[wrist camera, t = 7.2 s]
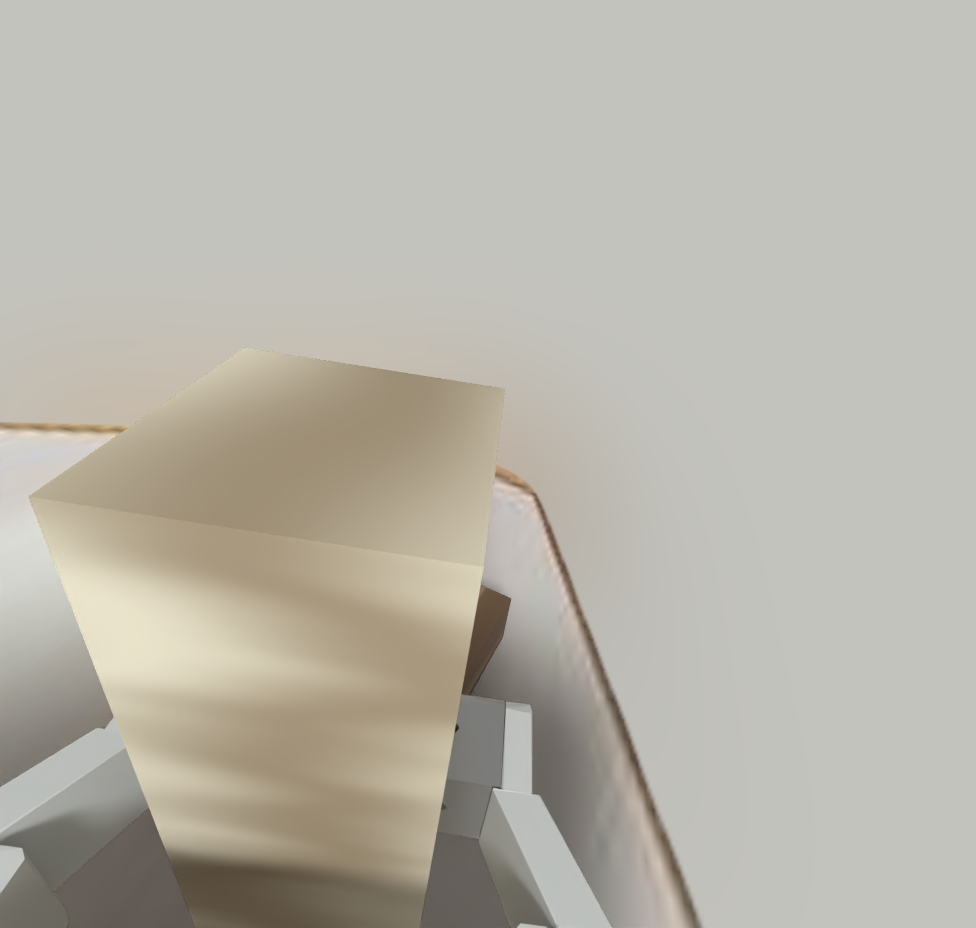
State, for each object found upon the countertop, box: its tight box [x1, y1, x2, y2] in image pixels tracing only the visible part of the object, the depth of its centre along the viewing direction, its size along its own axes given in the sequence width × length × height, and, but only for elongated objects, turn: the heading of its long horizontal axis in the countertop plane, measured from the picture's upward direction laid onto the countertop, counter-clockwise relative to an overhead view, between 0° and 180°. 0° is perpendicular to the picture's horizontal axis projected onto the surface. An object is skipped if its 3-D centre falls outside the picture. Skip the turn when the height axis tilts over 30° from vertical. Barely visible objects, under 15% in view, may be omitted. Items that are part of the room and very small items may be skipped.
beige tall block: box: [29, 348, 505, 928], centre depth 10 cm, size 4×4×14 cm
